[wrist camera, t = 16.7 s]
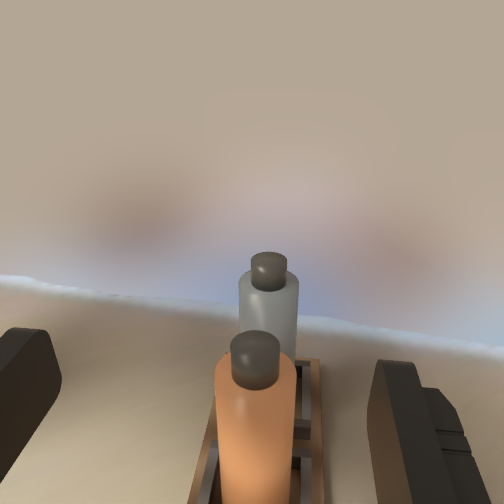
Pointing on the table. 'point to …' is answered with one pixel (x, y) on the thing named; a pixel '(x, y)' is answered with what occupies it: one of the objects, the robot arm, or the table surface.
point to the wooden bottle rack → (303, 449)
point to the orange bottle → (255, 420)
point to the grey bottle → (270, 300)
